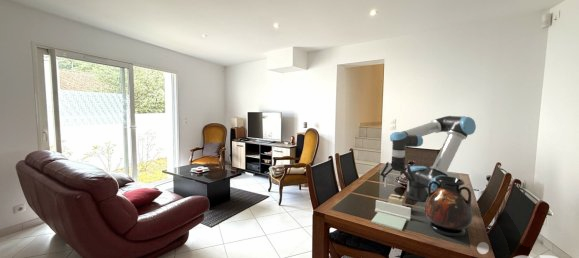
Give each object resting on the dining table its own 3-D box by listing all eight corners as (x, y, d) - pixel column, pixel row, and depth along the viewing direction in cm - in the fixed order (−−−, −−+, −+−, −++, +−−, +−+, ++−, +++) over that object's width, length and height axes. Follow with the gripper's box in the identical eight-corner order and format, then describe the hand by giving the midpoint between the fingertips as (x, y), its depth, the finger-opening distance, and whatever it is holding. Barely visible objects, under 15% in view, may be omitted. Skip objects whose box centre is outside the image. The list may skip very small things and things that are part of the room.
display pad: (378, 213, 145) (378, 211, 145) (406, 220, 136) (406, 219, 136) (371, 222, 134) (371, 220, 134) (401, 231, 125) (401, 229, 125)
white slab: (376, 209, 150) (376, 200, 150) (410, 218, 139) (411, 208, 138) (374, 211, 148) (375, 201, 147) (409, 220, 136) (410, 209, 136)
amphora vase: (473, 228, 127) (477, 178, 124) (469, 246, 111) (473, 189, 108) (428, 216, 141) (430, 171, 139) (418, 230, 125) (421, 179, 123)
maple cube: (390, 205, 157) (391, 193, 157) (403, 208, 153) (404, 196, 152) (387, 209, 151) (388, 197, 150) (401, 212, 146) (402, 200, 145)
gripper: (376, 154, 153) (374, 186, 155) (419, 160, 138) (417, 194, 140) (379, 153, 159) (378, 183, 161) (421, 158, 144) (419, 191, 146)
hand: (396, 188), depth 150 cm, fingers open, 13 cm apart
